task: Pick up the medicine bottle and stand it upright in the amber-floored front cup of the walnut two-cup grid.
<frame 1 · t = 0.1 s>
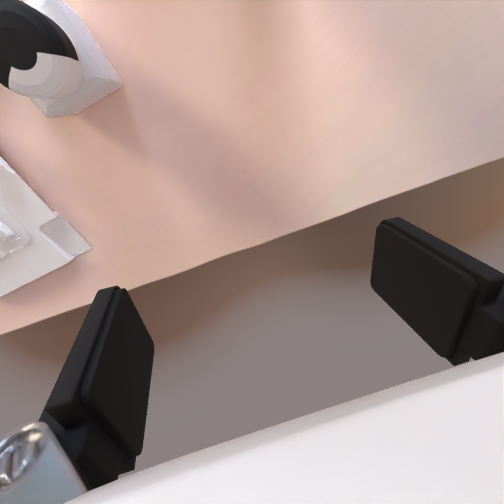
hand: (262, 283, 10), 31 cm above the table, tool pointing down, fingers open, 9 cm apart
medicine bottle: (75, 67, 29), on the table
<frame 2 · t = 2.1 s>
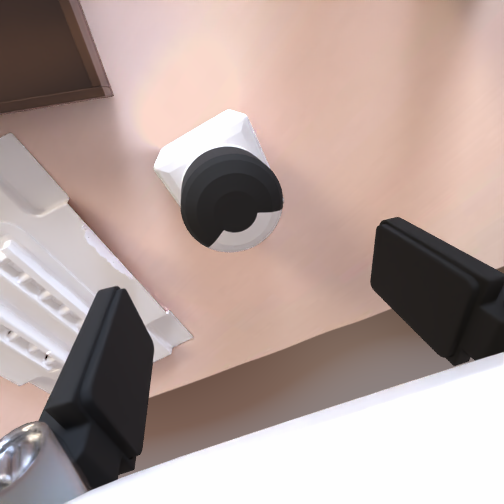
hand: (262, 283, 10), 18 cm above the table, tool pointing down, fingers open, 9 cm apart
tray: (44, 302, 28), on the table
medicine bottle: (215, 164, 25), on the table
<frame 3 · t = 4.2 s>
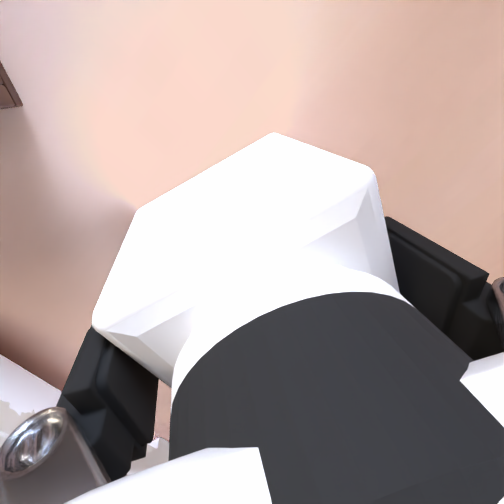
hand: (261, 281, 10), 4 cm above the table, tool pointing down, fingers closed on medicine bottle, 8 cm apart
medicine bottle: (239, 231, 14), on the table, touching gripper
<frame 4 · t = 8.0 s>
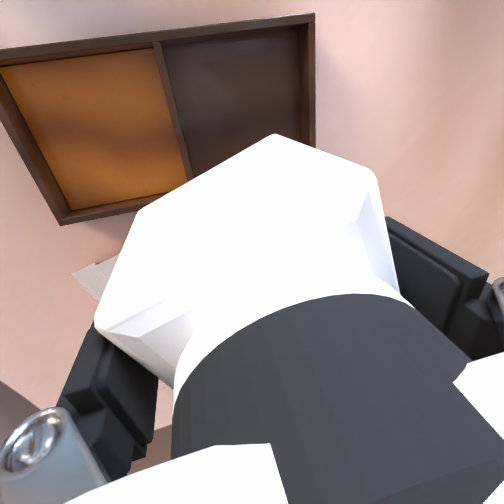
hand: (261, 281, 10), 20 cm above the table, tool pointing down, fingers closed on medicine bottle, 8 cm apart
grid: (178, 125, 24), on the table
tray: (209, 313, 37), on the table
medicine bottle: (240, 231, 14), point 16 cm above the table, touching gripper
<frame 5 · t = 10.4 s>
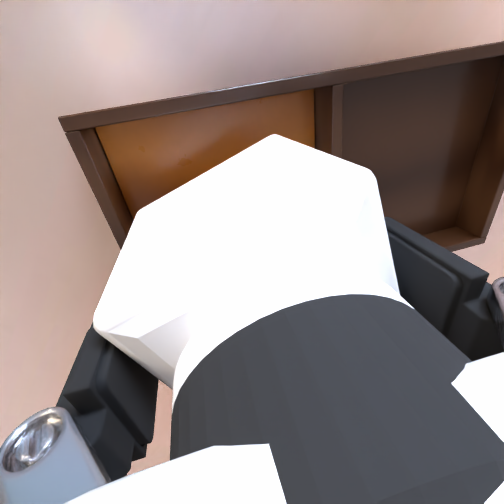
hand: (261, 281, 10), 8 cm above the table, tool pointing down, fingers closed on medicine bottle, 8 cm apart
grid: (316, 186, 18), on the table
medicine bottle: (240, 231, 14), point 4 cm above the table, touching gripper
when the fingers open (5 cm above the table, at t = 12.1 s): medicine bottle stays where it is, resting on grid.
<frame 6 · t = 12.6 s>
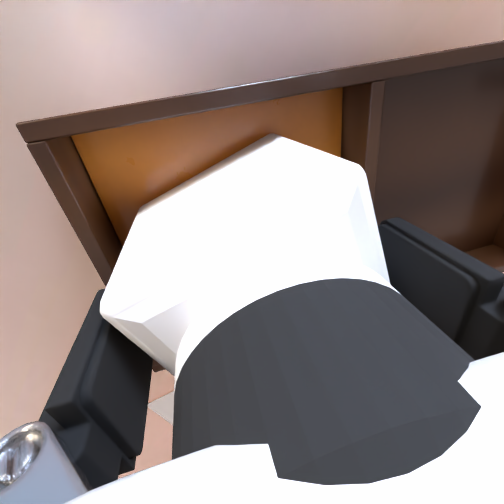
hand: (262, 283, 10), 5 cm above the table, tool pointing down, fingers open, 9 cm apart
grid: (338, 202, 15), on the table
tray: (313, 420, 27), on the table
medicine bottle: (238, 228, 14), point 1 cm above the table, touching grid
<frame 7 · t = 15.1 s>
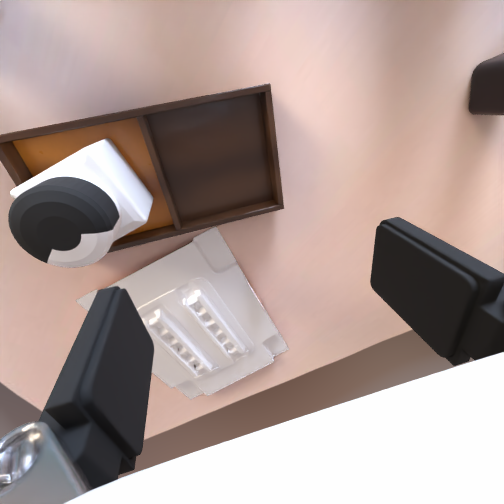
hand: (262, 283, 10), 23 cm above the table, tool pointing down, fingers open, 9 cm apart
wine bottle: (486, 84, 33), on the table
grid: (162, 173, 29), on the table
tray: (200, 328, 41), on the table
medicine bottle: (105, 186, 28), point 1 cm above the table, touching grid
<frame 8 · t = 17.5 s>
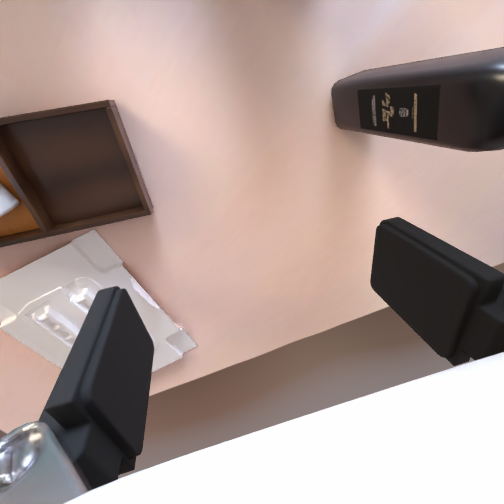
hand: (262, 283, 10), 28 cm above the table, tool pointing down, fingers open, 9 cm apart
wine bottle: (351, 100, 35), on the table
grid: (28, 179, 31), on the table
tray: (100, 324, 43), on the table
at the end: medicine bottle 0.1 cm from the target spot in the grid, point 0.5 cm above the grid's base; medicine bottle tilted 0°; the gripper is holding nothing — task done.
